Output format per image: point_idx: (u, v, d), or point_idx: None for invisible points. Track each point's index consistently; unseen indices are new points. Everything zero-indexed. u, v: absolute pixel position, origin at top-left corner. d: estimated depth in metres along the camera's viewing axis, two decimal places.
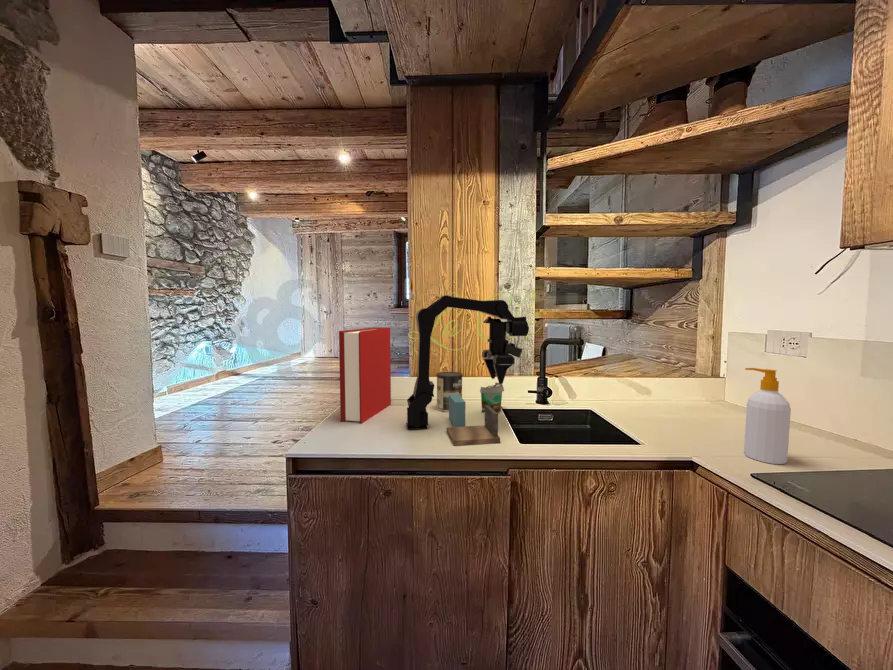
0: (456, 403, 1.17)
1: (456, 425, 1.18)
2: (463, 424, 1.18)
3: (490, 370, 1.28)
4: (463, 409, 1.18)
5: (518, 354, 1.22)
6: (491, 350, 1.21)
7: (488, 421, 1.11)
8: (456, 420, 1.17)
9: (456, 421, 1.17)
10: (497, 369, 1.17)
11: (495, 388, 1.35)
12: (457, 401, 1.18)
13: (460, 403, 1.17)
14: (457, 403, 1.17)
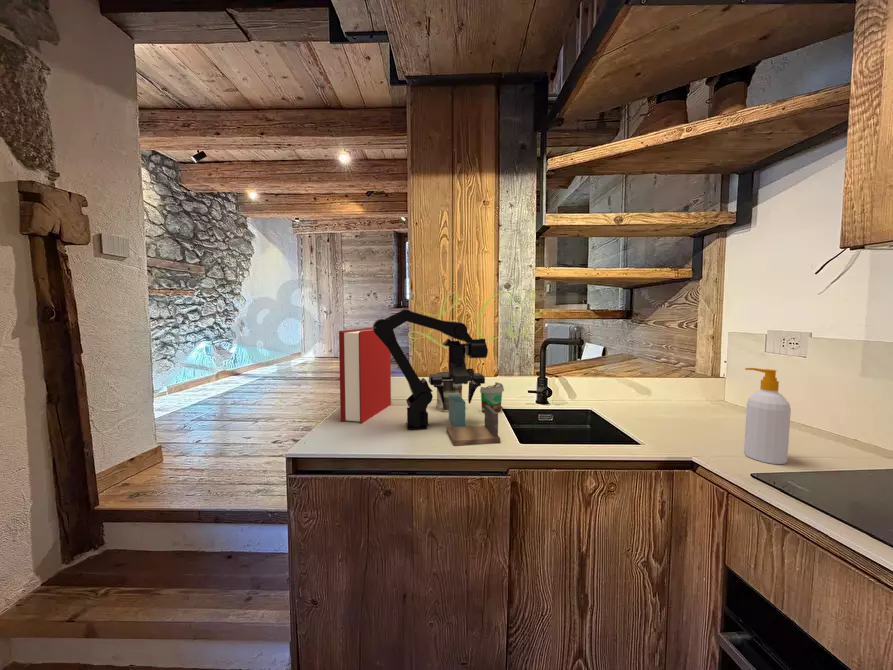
0: (456, 403, 1.17)
1: (456, 425, 1.18)
2: (463, 424, 1.18)
3: (468, 393, 1.24)
4: (463, 409, 1.18)
5: (453, 380, 1.15)
6: None
7: (488, 421, 1.11)
8: (456, 420, 1.17)
9: (456, 421, 1.17)
10: (437, 388, 1.23)
11: (495, 388, 1.35)
12: (457, 401, 1.18)
13: (460, 403, 1.17)
14: (457, 403, 1.17)
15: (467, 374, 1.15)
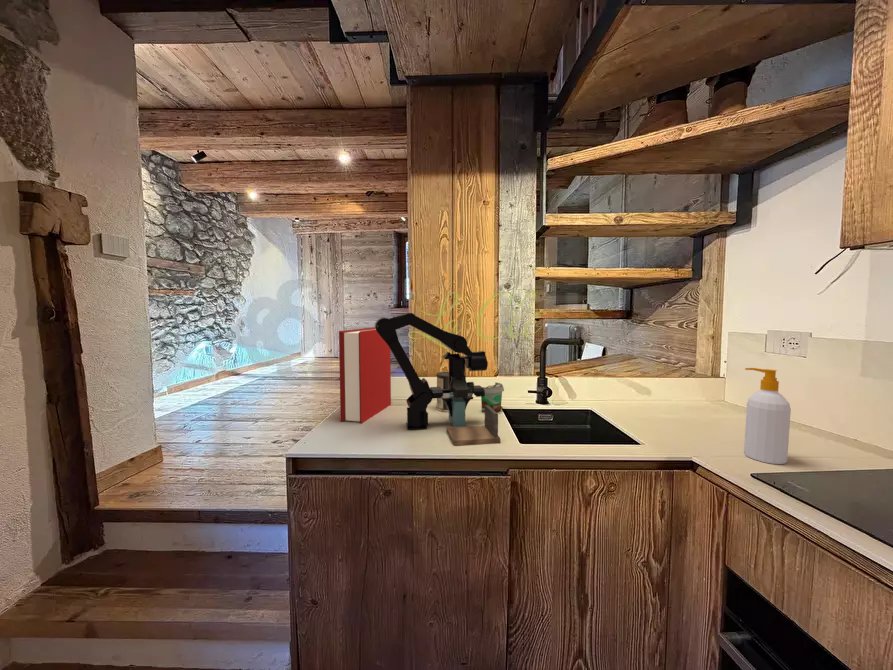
0: (456, 403, 1.17)
1: (456, 425, 1.18)
2: (463, 424, 1.18)
3: None
4: (463, 409, 1.18)
5: (453, 393, 1.15)
6: None
7: (488, 421, 1.11)
8: (456, 420, 1.17)
9: (456, 421, 1.17)
10: (445, 400, 1.24)
11: (495, 388, 1.35)
12: (457, 401, 1.18)
13: (460, 403, 1.17)
14: (457, 403, 1.17)
15: (467, 388, 1.15)
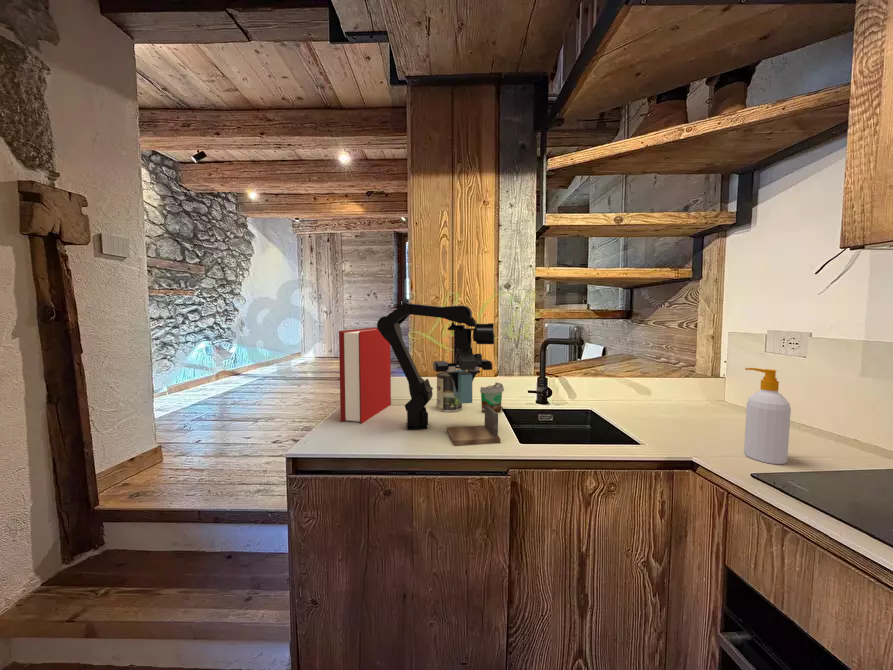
0: (463, 376, 1.11)
1: (463, 399, 1.11)
2: (470, 398, 1.11)
3: None
4: (470, 382, 1.11)
5: (460, 366, 1.09)
6: None
7: (488, 421, 1.11)
8: (463, 394, 1.11)
9: (463, 395, 1.11)
10: (450, 375, 1.17)
11: (495, 388, 1.35)
12: (464, 374, 1.12)
13: (467, 376, 1.11)
14: (464, 376, 1.11)
15: (475, 359, 1.09)
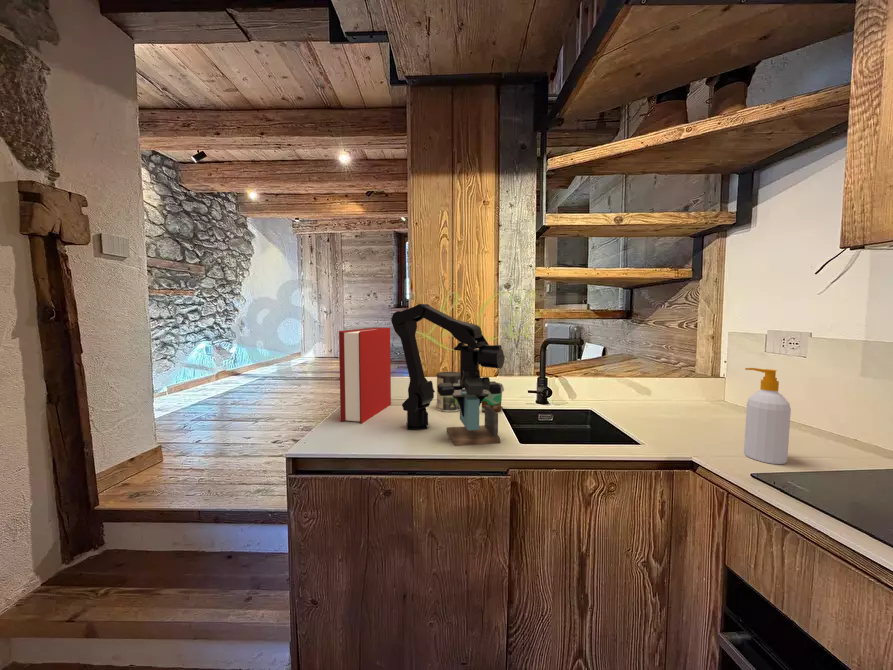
0: (469, 401, 1.03)
1: (469, 426, 1.04)
2: (477, 425, 1.04)
3: None
4: (477, 408, 1.04)
5: (466, 390, 1.02)
6: None
7: (488, 421, 1.11)
8: (469, 420, 1.04)
9: (469, 421, 1.04)
10: (456, 398, 1.10)
11: None
12: (470, 398, 1.04)
13: (474, 401, 1.03)
14: (470, 401, 1.03)
15: (482, 384, 1.01)
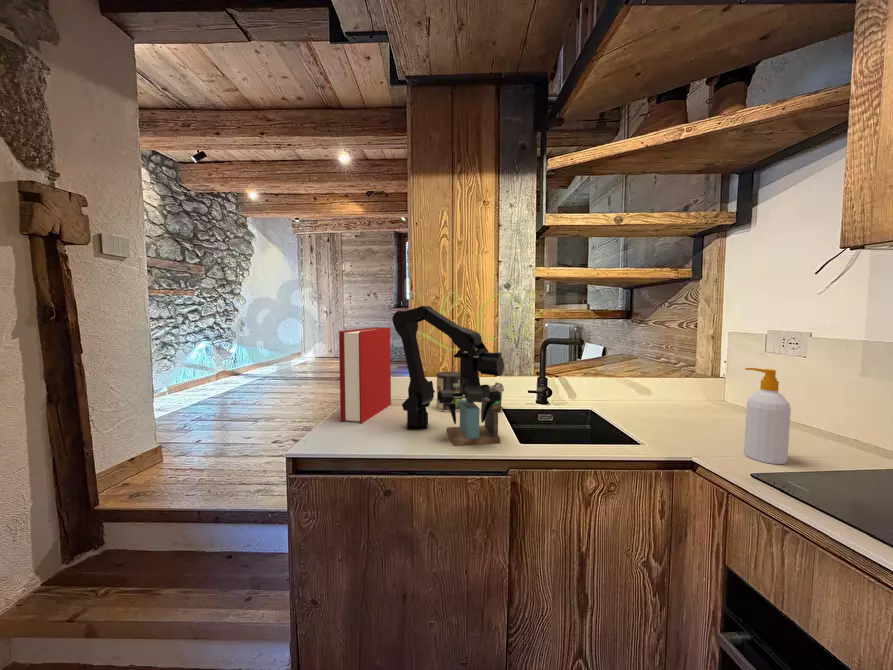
0: (469, 410, 1.03)
1: (469, 435, 1.04)
2: (477, 433, 1.04)
3: (481, 411, 1.11)
4: (477, 416, 1.04)
5: (466, 398, 1.02)
6: None
7: (488, 421, 1.11)
8: (469, 429, 1.04)
9: (469, 430, 1.04)
10: (448, 405, 1.10)
11: (495, 388, 1.35)
12: (470, 407, 1.05)
13: (474, 410, 1.04)
14: (470, 410, 1.04)
15: (482, 391, 1.01)
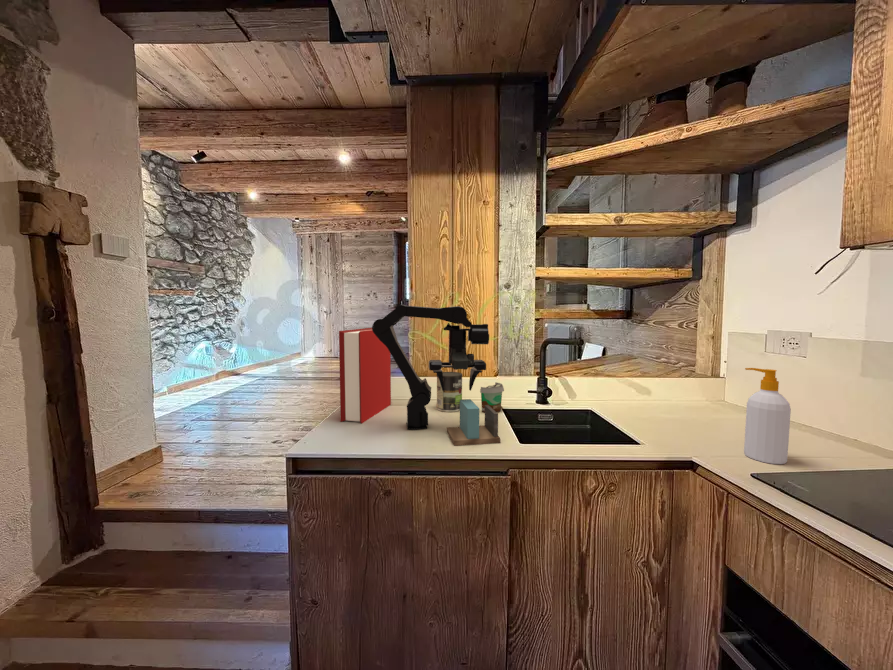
0: (469, 410, 1.03)
1: (469, 435, 1.04)
2: (477, 433, 1.04)
3: None
4: (477, 416, 1.04)
5: (452, 365, 1.11)
6: None
7: (488, 421, 1.11)
8: (469, 429, 1.04)
9: (469, 430, 1.04)
10: (437, 374, 1.20)
11: (495, 388, 1.35)
12: (470, 407, 1.05)
13: (474, 410, 1.04)
14: (470, 410, 1.04)
15: (467, 359, 1.11)
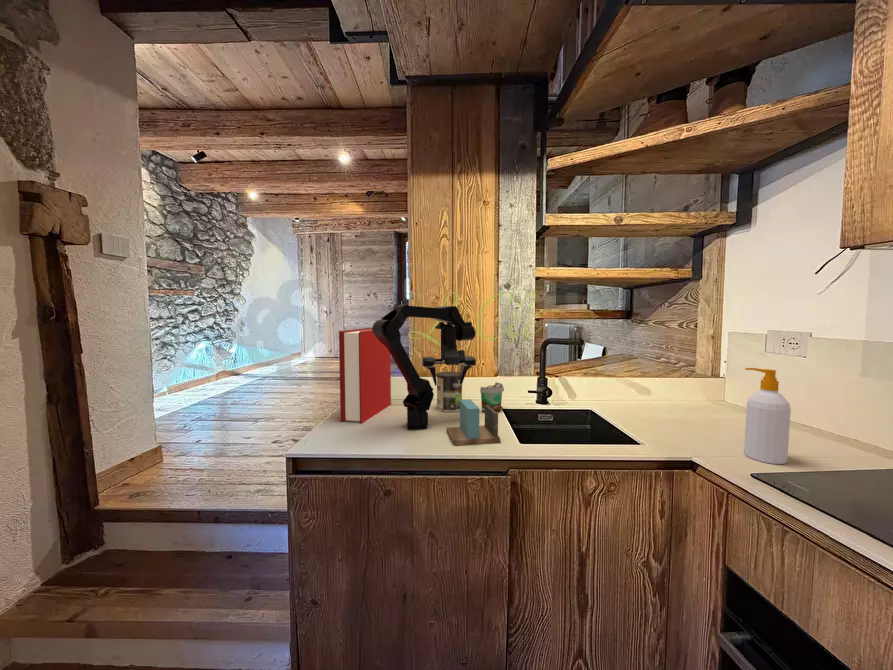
0: (469, 410, 1.03)
1: (469, 435, 1.04)
2: (477, 433, 1.04)
3: (460, 375, 1.29)
4: (477, 416, 1.04)
5: (445, 361, 1.19)
6: None
7: (488, 421, 1.11)
8: (469, 429, 1.04)
9: (469, 430, 1.04)
10: (430, 370, 1.27)
11: (495, 388, 1.35)
12: (470, 407, 1.05)
13: (474, 410, 1.04)
14: (470, 410, 1.04)
15: (458, 355, 1.19)
